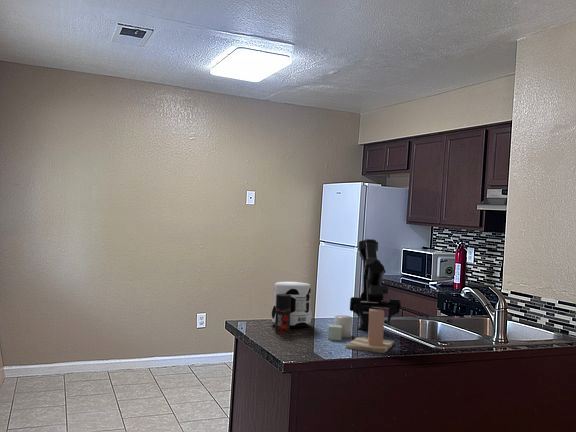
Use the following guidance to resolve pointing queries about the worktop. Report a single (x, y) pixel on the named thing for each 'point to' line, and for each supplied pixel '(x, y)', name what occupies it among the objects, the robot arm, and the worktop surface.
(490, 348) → the worktop surface
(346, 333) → the pale grey cylinder
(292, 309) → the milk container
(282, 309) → the deodorant
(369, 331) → the tan rectangular block
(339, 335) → the block
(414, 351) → the worktop surface
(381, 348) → the board
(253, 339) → the worktop surface
